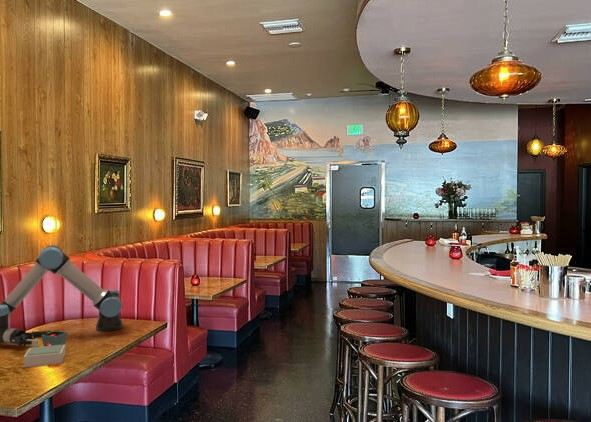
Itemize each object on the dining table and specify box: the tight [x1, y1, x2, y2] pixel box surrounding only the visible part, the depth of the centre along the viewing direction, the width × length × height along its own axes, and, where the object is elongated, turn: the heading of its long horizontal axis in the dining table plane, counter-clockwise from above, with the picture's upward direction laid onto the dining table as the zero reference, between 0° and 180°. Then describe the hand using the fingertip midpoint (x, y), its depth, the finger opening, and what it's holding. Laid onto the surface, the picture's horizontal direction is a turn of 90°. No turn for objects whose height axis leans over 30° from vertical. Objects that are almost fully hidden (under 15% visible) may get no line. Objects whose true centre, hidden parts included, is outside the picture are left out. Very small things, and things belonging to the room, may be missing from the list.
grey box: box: [23, 344, 66, 368], centre depth 233 cm, size 16×14×6 cm
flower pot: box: [41, 330, 68, 346], centre depth 249 cm, size 9×9×9 cm
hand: (48, 339), depth 249 cm, fingers open, 13 cm apart
